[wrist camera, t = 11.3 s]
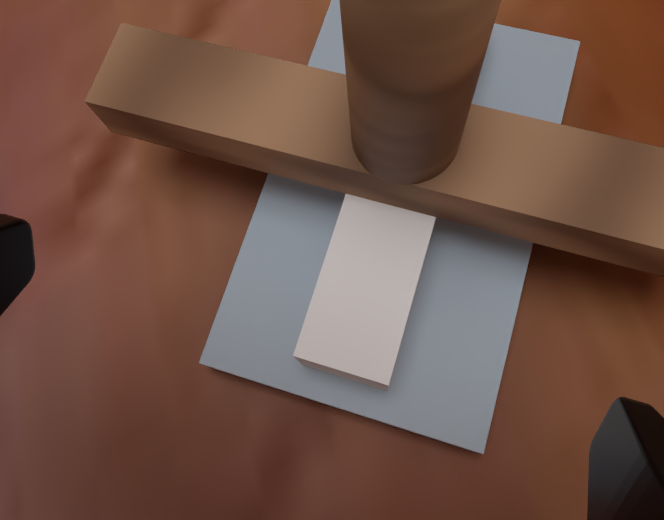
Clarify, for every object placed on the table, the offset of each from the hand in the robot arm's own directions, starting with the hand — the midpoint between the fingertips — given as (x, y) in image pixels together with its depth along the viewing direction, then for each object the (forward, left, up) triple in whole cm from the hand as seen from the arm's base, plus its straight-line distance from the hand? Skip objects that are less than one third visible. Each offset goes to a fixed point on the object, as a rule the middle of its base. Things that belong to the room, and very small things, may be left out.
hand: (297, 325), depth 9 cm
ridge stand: (+7, -3, -13) cm, 15 cm away
